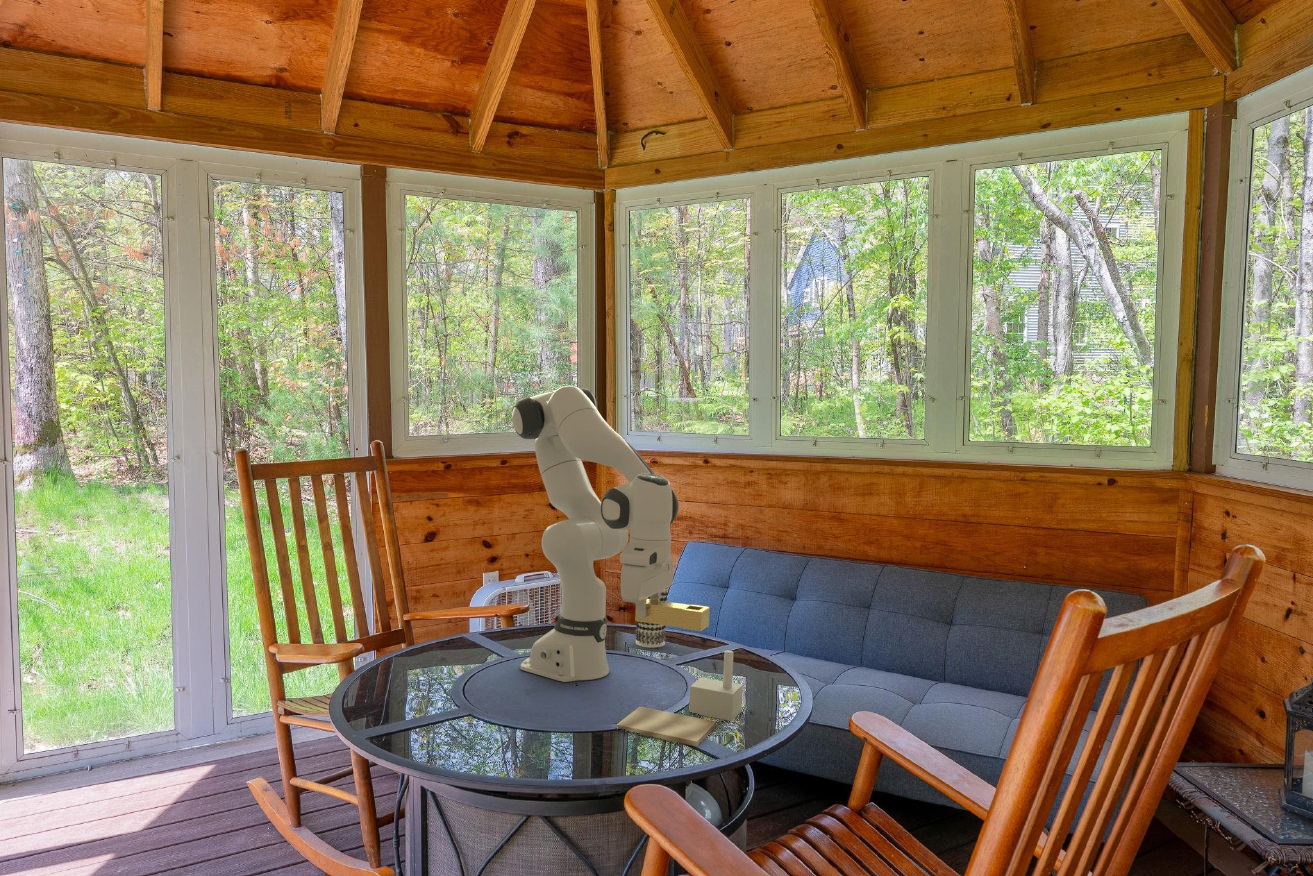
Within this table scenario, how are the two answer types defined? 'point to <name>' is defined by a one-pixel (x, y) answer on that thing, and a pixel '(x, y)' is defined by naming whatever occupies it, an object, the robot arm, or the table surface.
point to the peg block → (717, 694)
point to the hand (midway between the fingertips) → (647, 614)
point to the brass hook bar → (676, 615)
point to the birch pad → (667, 725)
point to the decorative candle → (651, 631)
